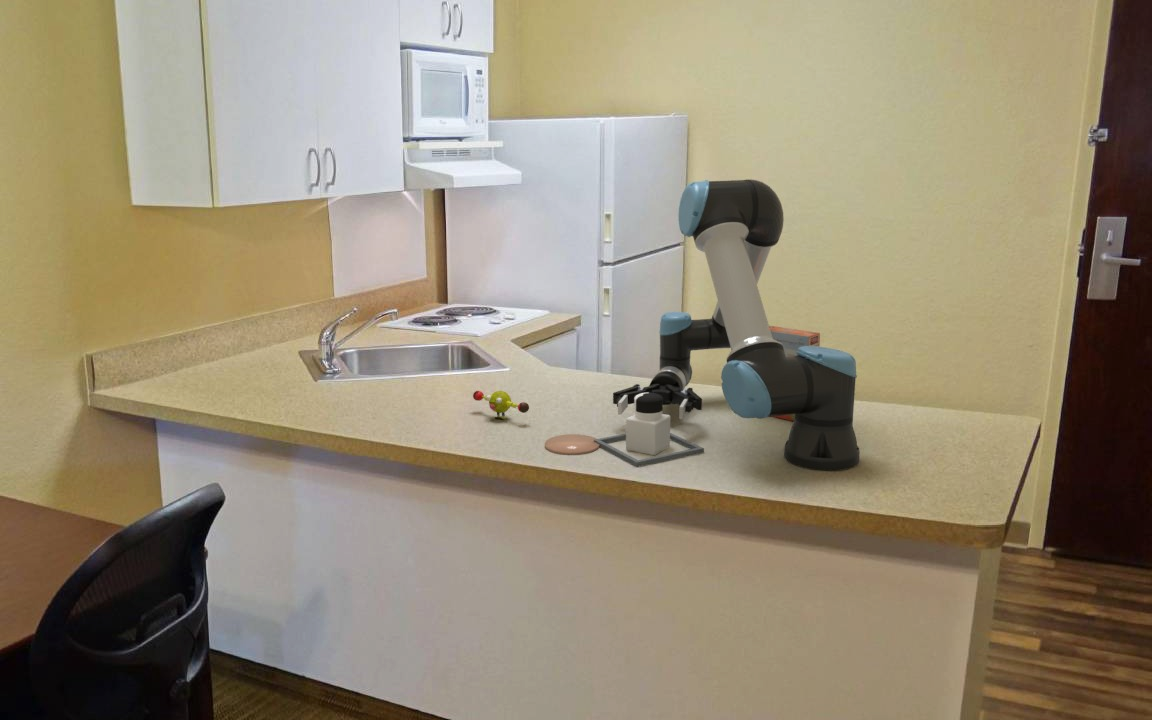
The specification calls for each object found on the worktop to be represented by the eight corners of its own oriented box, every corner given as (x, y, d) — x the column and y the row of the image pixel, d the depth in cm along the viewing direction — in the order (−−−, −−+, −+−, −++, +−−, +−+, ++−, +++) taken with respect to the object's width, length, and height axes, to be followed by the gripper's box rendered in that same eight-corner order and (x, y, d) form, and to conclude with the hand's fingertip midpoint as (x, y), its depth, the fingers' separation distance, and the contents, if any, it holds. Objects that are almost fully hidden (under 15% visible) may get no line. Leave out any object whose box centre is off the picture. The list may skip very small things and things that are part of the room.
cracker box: (817, 418, 226) (821, 331, 221) (803, 424, 221) (808, 336, 216) (765, 407, 235) (769, 323, 230) (752, 412, 231) (755, 327, 226)
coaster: (610, 448, 206) (610, 445, 206) (561, 458, 200) (561, 455, 200) (582, 433, 216) (582, 431, 216) (535, 442, 210) (535, 439, 210)
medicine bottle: (670, 446, 207) (671, 393, 204) (654, 456, 201) (655, 401, 198) (641, 441, 211) (641, 388, 208) (625, 450, 205) (625, 396, 202)
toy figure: (465, 414, 232) (464, 387, 230) (482, 409, 236) (482, 382, 234) (518, 429, 220) (517, 400, 218) (535, 423, 224) (534, 395, 222)
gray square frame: (703, 452, 203) (704, 448, 203) (636, 467, 195) (636, 462, 194) (658, 431, 217) (658, 427, 217) (593, 444, 209) (593, 439, 209)
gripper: (719, 404, 226) (706, 431, 206) (616, 397, 233) (594, 423, 213) (720, 373, 224) (707, 398, 204) (616, 367, 231) (594, 390, 211)
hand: (650, 410), depth 209 cm, fingers open, 13 cm apart
